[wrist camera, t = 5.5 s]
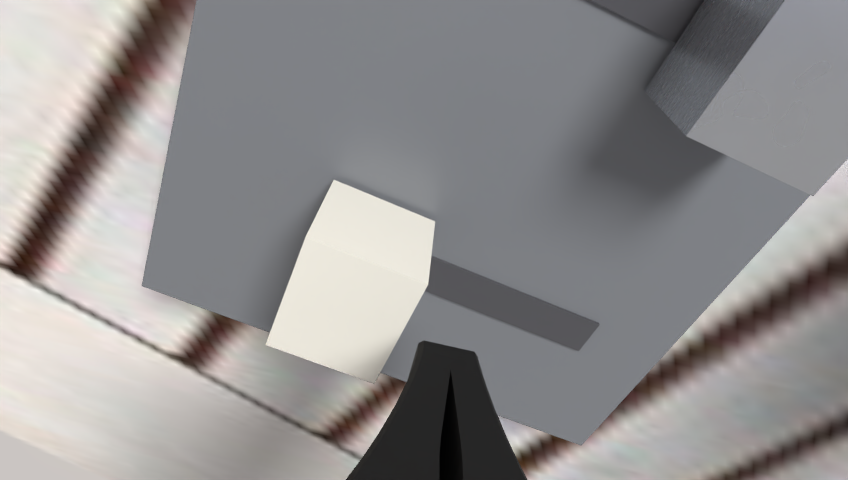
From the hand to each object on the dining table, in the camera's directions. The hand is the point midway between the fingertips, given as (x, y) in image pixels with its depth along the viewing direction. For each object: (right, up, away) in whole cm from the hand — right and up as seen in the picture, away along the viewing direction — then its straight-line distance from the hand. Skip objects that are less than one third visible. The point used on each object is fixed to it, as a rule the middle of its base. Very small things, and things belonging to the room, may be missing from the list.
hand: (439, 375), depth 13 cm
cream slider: (-2, +3, +3) cm, 5 cm away
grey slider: (+7, +8, -1) cm, 10 cm away
